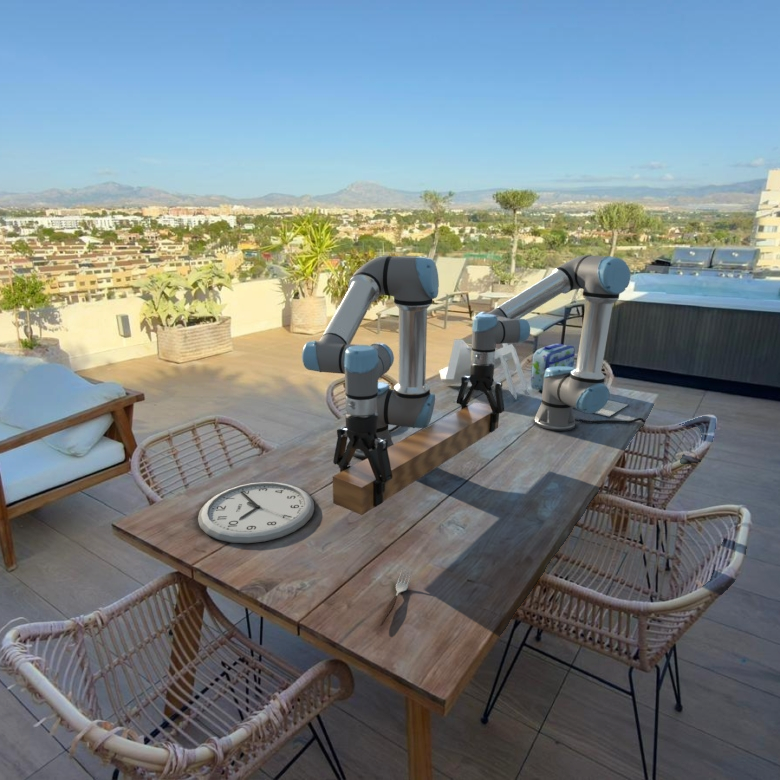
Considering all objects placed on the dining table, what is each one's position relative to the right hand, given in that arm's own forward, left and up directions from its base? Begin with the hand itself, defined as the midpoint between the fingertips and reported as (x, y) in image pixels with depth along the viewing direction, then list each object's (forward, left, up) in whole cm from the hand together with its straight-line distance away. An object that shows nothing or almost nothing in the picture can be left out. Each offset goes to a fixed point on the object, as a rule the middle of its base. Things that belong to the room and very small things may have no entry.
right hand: (478, 427), depth 175 cm
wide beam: (+15, +26, -1) cm, 31 cm away
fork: (+20, +78, -9) cm, 81 cm away
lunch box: (-38, -82, -9) cm, 91 cm away
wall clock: (+60, +48, -9) cm, 77 cm away
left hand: (+31, +53, 0) cm, 61 cm away
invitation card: (-56, -57, -9) cm, 80 cm away
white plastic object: (-4, -69, -9) cm, 70 cm away
